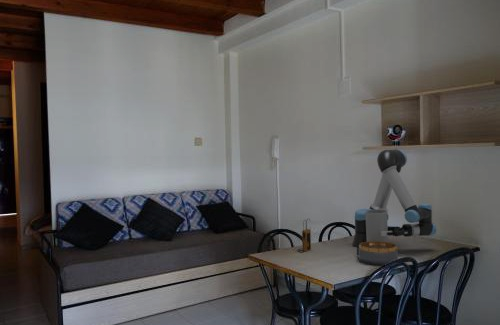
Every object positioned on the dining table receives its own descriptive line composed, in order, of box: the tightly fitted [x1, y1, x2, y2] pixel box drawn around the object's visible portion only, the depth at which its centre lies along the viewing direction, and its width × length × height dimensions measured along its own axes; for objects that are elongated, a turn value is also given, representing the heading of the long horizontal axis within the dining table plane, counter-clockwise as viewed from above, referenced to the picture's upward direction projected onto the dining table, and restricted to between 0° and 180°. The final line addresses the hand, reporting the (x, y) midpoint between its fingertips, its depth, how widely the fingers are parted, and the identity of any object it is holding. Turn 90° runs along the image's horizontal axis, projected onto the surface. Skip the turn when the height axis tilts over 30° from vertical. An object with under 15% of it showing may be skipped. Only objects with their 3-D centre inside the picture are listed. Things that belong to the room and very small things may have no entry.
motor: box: [356, 241, 399, 267], centre depth 248 cm, size 24×21×9 cm
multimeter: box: [296, 218, 312, 254], centre depth 278 cm, size 15×10×20 cm
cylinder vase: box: [365, 209, 389, 242], centre depth 265 cm, size 12×12×25 cm
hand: (376, 231), depth 265 cm, fingers open, 13 cm apart
